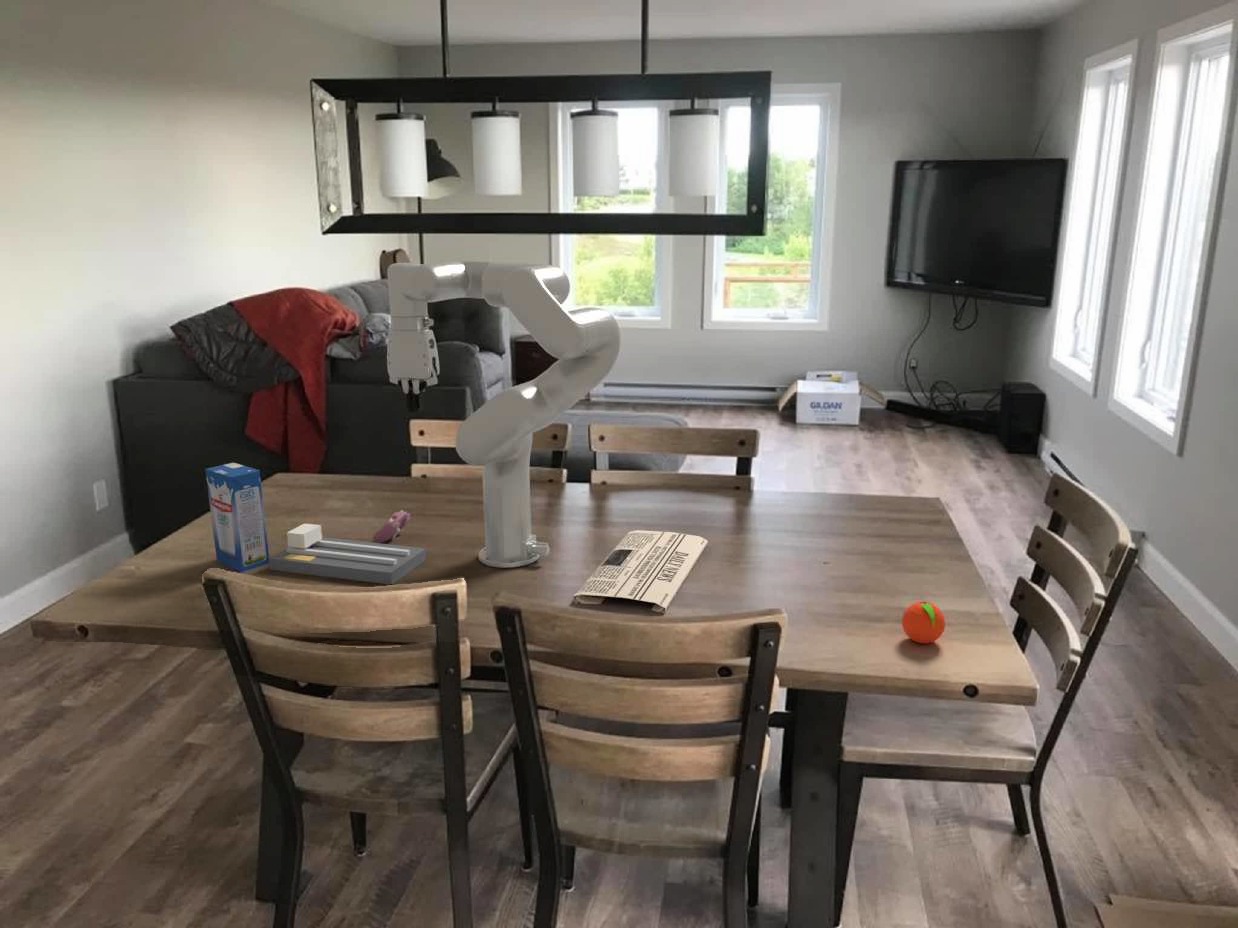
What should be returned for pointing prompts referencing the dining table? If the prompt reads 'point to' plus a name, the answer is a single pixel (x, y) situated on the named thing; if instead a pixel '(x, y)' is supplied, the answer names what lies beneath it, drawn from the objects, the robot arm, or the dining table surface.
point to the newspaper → (644, 568)
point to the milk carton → (237, 516)
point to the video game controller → (392, 527)
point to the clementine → (923, 622)
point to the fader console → (350, 560)
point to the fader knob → (304, 535)
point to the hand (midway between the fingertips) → (415, 411)
